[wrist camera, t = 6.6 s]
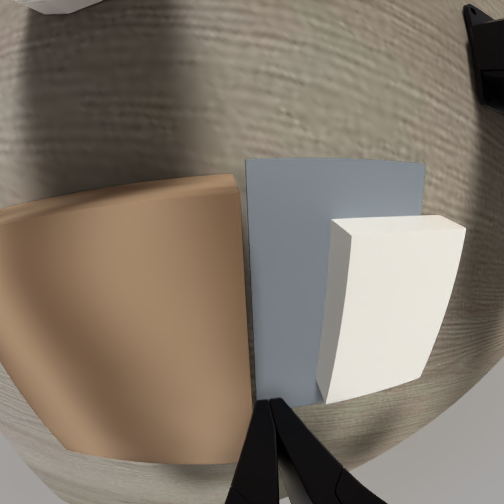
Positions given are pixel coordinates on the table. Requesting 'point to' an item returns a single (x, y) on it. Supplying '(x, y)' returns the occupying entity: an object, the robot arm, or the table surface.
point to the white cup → (57, 5)
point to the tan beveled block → (131, 318)
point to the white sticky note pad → (384, 300)
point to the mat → (308, 254)
